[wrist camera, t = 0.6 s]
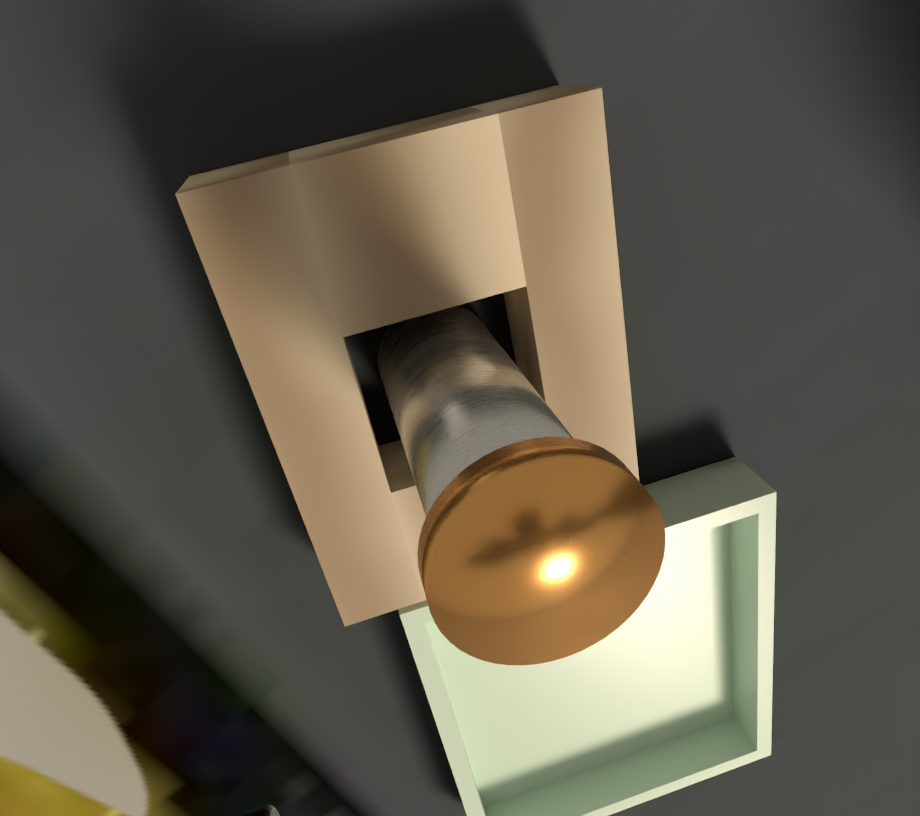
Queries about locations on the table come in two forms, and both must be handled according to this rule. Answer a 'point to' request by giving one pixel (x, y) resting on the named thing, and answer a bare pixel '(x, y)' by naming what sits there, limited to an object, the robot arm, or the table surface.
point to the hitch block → (414, 298)
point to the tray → (627, 673)
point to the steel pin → (512, 501)
